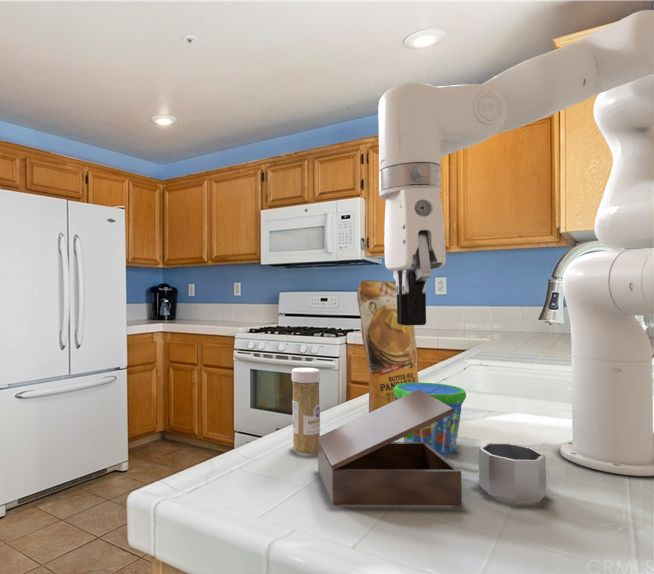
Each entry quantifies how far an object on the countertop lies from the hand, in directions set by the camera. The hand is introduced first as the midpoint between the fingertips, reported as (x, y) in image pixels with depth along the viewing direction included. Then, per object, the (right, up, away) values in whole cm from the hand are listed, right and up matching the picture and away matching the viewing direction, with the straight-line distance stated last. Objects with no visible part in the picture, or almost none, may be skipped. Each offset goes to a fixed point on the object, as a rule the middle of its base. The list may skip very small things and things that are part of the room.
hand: (411, 324), depth 64 cm
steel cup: (+12, -22, -2) cm, 25 cm away
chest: (-4, -22, 0) cm, 22 cm away
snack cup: (+9, -22, +16) cm, 28 cm away
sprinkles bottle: (-11, -22, +15) cm, 29 cm away
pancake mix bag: (+10, -22, +36) cm, 43 cm away
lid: (-4, -14, 0) cm, 14 cm away
